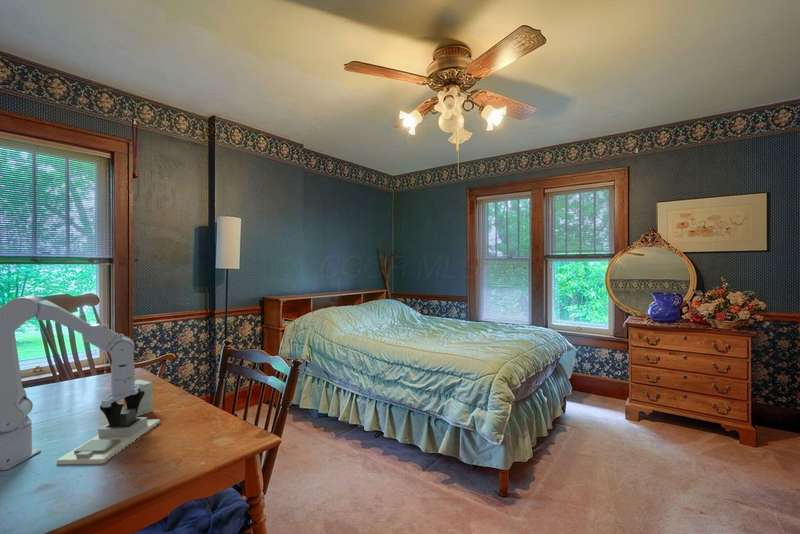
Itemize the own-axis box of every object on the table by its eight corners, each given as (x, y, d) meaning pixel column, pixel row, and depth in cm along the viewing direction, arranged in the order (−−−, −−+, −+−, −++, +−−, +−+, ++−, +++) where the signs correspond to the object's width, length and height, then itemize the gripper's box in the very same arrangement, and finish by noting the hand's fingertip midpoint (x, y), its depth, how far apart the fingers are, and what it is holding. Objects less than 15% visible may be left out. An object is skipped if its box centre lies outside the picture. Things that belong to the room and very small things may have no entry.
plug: (126, 433, 110) (126, 414, 110) (105, 434, 110) (105, 414, 110) (135, 427, 114) (135, 408, 114) (115, 427, 114) (115, 408, 114)
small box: (123, 412, 128) (122, 383, 128) (140, 407, 133) (140, 378, 133) (135, 417, 124) (135, 387, 124) (153, 411, 129) (152, 382, 129)
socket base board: (103, 463, 96) (103, 449, 96) (56, 464, 96) (56, 450, 96) (160, 422, 120) (159, 411, 120) (122, 423, 120) (122, 412, 120)
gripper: (119, 385, 104) (119, 432, 105) (151, 370, 119) (152, 411, 119) (93, 385, 104) (94, 432, 104) (129, 370, 119) (130, 411, 119)
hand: (123, 421), depth 112 cm, fingers open, 7 cm apart
